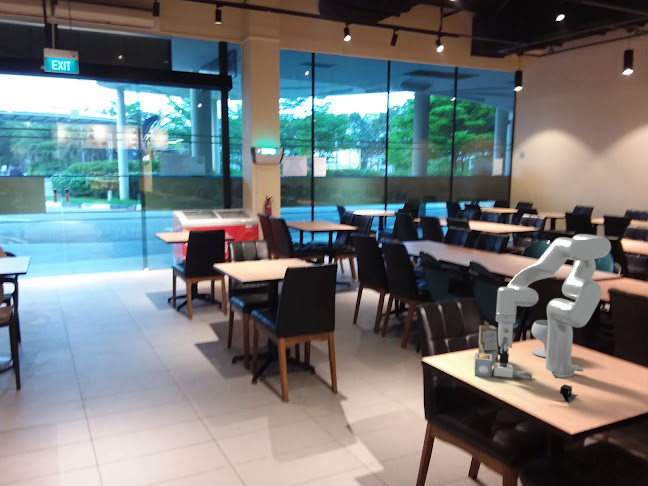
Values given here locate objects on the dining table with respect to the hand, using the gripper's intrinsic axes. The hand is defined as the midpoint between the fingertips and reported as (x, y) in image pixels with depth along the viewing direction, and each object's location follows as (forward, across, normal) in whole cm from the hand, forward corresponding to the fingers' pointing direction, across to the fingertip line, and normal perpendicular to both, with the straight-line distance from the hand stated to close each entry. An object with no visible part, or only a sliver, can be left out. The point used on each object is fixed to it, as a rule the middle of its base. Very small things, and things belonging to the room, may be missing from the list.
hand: (502, 358), depth 210 cm
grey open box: (+7, 0, +7) cm, 10 cm away
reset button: (+3, 0, +7) cm, 8 cm away
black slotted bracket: (+9, -12, -22) cm, 27 cm away
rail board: (+8, 0, 0) cm, 8 cm away
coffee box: (+8, +18, +5) cm, 21 cm away
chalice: (+8, +38, -22) cm, 45 cm away
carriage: (+7, 0, 0) cm, 7 cm away
